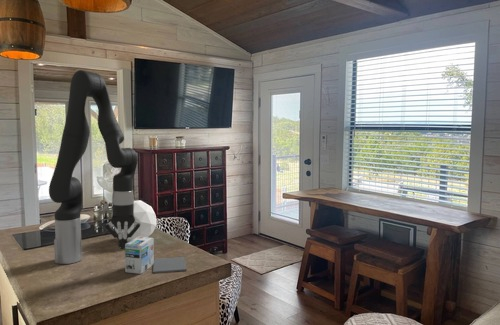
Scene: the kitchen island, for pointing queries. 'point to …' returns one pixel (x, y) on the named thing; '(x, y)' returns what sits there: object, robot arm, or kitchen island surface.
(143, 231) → the ball
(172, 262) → the mat
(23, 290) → the kitchen island surface
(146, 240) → the light bulb box
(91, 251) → the kitchen island surface
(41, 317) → the kitchen island surface
